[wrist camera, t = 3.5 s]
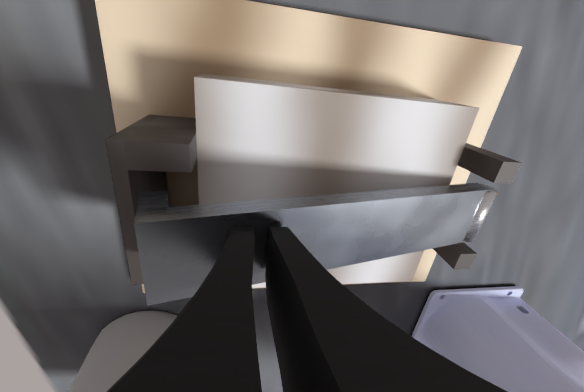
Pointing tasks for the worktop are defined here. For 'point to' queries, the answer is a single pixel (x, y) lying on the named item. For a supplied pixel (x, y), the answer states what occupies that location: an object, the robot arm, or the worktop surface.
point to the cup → (119, 349)
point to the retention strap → (301, 230)
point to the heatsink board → (289, 54)
